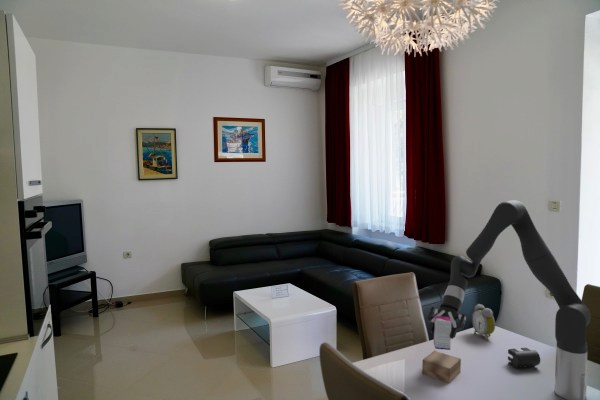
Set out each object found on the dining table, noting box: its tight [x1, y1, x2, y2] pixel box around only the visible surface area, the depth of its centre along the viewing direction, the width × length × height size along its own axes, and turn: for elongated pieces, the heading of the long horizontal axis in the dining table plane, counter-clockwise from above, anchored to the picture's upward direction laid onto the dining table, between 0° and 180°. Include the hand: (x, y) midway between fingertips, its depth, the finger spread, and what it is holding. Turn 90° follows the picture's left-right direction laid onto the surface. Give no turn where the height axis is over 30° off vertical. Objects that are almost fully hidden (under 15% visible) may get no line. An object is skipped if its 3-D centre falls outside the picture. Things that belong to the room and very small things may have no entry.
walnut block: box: [421, 350, 462, 384], centre depth 163 cm, size 11×11×6 cm
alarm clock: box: [471, 303, 496, 341], centre depth 198 cm, size 12×7×15 cm, turn 10°
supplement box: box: [433, 315, 452, 351], centre depth 162 cm, size 6×6×12 cm
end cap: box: [507, 346, 541, 369], centre depth 168 cm, size 10×7×7 cm
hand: (440, 335), depth 161 cm, fingers closed on supplement box, 7 cm apart
